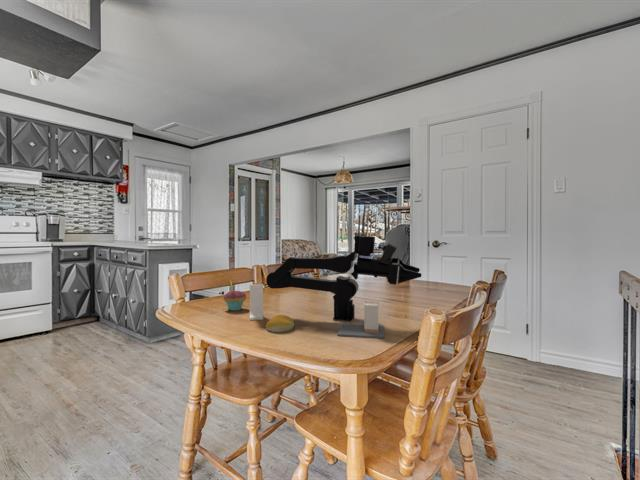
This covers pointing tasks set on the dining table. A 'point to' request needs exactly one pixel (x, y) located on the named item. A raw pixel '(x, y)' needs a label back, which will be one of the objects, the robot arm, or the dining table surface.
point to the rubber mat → (359, 331)
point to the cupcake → (234, 299)
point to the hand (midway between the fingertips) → (420, 272)
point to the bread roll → (280, 324)
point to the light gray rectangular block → (256, 302)
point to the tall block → (371, 317)
